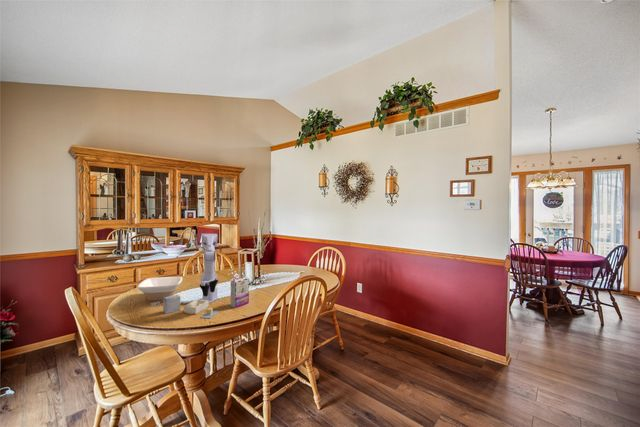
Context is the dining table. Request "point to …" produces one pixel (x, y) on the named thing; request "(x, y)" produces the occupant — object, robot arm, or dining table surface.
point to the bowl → (159, 287)
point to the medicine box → (171, 304)
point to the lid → (209, 313)
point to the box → (196, 306)
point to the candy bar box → (239, 292)
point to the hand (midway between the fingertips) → (209, 294)
